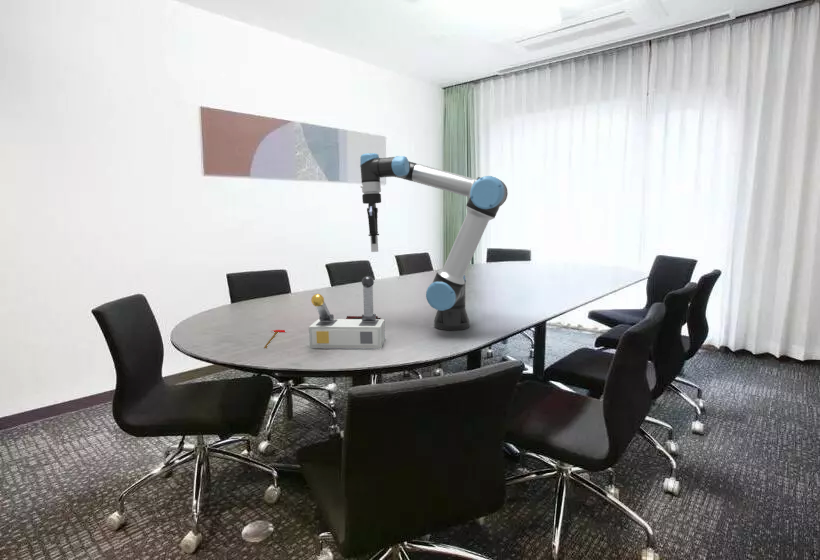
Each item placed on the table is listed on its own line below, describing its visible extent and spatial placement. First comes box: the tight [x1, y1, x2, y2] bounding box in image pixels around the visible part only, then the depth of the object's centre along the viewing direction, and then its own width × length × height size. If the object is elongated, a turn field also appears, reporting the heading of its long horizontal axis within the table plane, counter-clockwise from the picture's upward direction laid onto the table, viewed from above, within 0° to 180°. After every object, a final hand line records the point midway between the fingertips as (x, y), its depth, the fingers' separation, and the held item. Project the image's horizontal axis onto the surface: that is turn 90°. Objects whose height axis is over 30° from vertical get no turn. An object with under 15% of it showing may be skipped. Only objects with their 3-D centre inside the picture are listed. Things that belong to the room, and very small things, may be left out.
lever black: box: [361, 275, 377, 321], centre depth 163 cm, size 5×4×17 cm
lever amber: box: [310, 293, 335, 321], centre depth 159 cm, size 5×4×17 cm
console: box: [308, 318, 386, 350], centre depth 166 cm, size 26×12×8 cm, turn 85°
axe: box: [263, 329, 286, 349], centre depth 175 cm, size 26×1×10 cm
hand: (374, 251), depth 182 cm, fingers closed
